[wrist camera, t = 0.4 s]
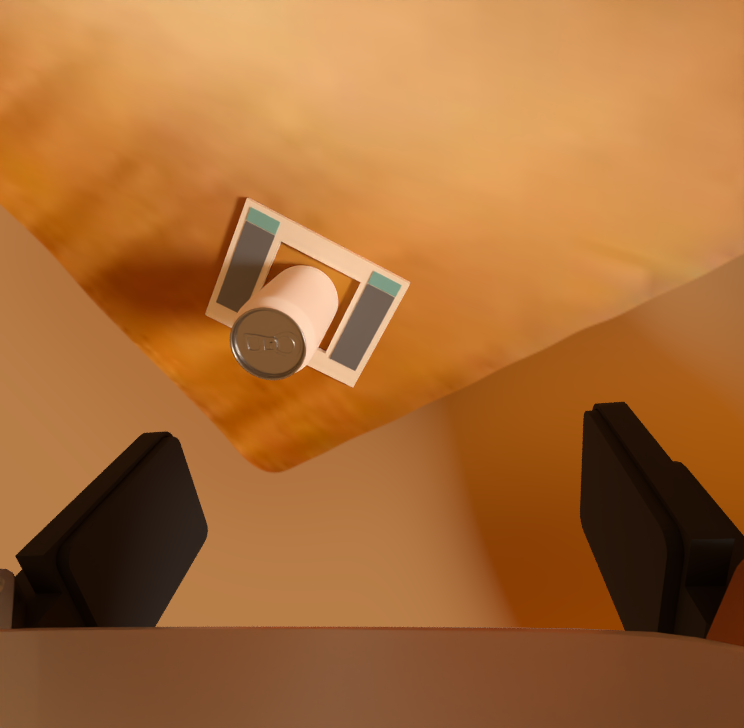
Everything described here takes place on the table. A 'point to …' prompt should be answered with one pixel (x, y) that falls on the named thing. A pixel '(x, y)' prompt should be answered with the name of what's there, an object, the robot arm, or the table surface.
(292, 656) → the robot arm
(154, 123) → the table surface
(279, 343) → the can
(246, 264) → the label board
